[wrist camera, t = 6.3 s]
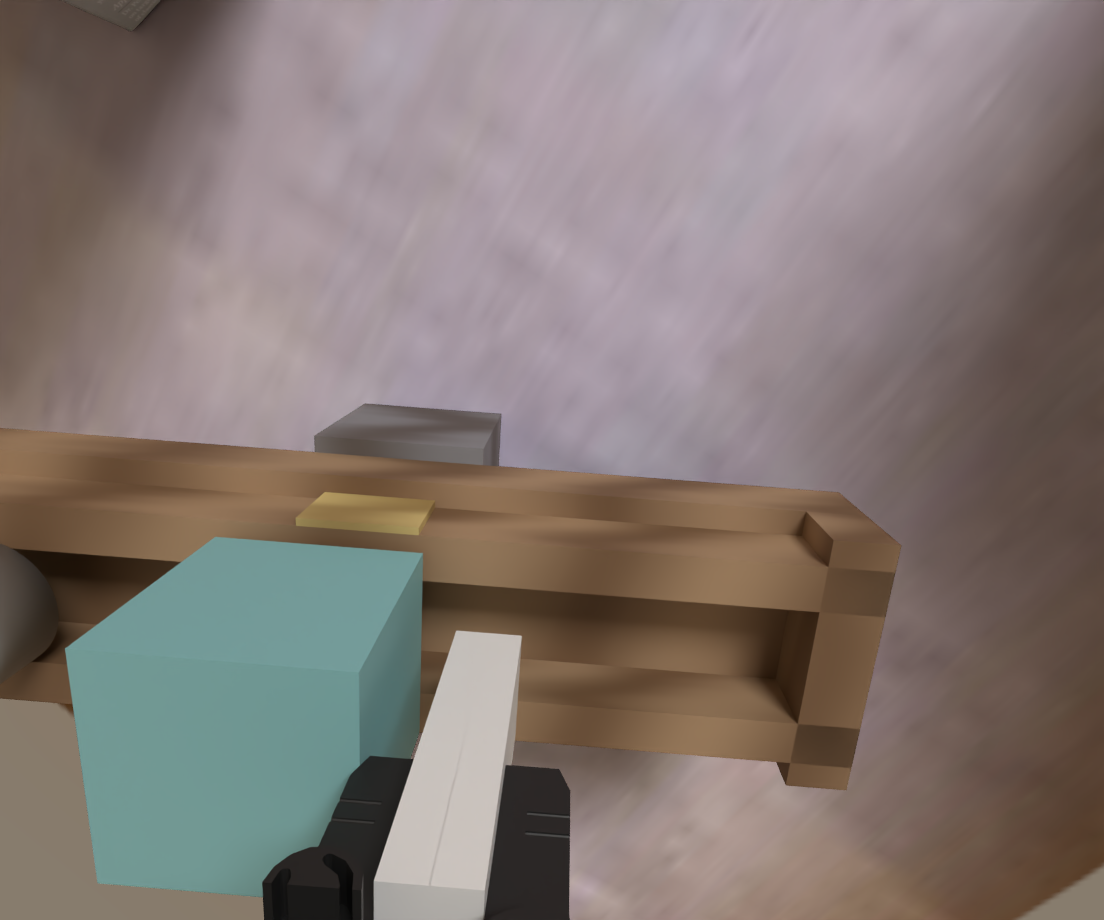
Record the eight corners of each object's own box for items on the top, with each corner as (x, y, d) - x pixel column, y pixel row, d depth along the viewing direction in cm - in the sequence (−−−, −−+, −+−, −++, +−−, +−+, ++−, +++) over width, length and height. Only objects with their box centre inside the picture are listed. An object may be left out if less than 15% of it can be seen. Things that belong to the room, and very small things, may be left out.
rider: (439, 521, 18) (359, 672, 11) (435, 684, 20) (360, 905, 13) (254, 507, 18) (65, 648, 12) (263, 670, 20) (97, 883, 13)
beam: (790, 435, 25) (1009, 606, 12) (756, 632, 27) (914, 949, 14) (80, 382, 25) (-414, 494, 13) (104, 580, 27) (-297, 845, 15)
